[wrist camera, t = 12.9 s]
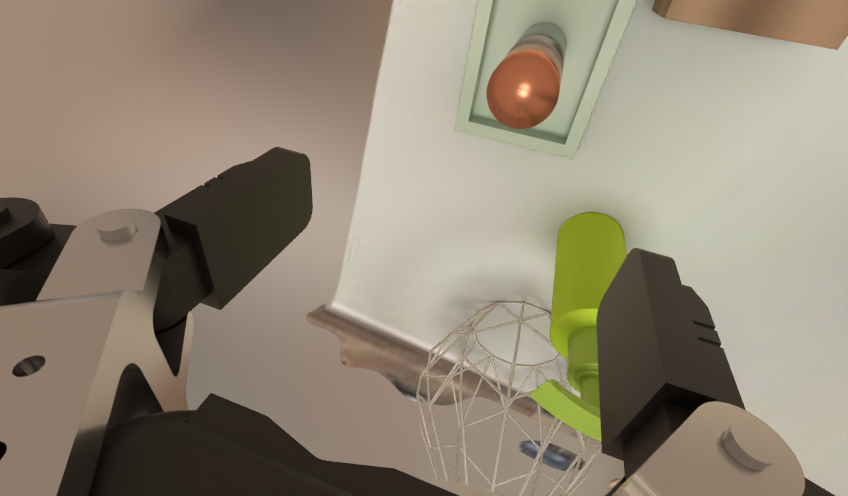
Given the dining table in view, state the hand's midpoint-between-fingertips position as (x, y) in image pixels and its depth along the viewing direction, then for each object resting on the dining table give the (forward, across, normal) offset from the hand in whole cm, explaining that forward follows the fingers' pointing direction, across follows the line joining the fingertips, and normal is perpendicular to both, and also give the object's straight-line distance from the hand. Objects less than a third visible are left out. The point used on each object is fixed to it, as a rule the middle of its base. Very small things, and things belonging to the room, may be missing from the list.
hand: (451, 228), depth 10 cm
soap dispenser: (+27, -9, +15) cm, 32 cm away
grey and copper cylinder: (+26, 0, 0) cm, 26 cm away
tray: (+26, 0, 0) cm, 26 cm away
